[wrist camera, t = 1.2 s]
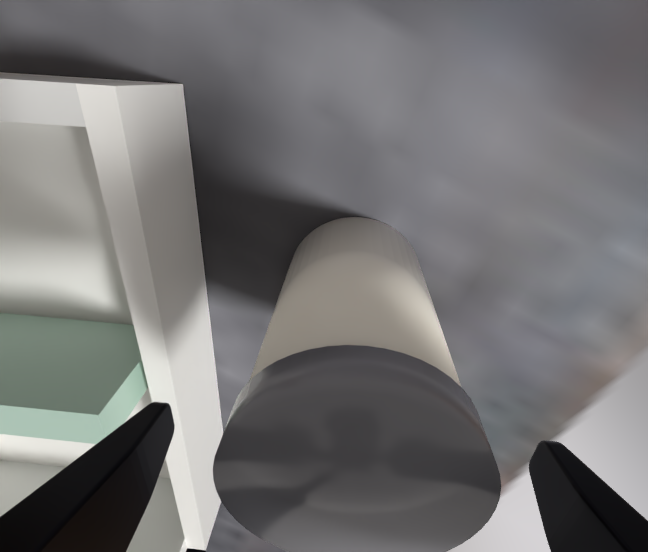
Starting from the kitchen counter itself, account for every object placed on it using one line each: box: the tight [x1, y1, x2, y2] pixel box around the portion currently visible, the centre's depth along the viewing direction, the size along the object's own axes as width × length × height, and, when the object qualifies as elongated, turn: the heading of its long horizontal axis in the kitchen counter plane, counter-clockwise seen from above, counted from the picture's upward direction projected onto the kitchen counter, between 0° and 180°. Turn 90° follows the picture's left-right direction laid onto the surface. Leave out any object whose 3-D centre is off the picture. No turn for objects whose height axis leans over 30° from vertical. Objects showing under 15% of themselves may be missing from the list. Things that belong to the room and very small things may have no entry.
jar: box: [213, 217, 501, 552], centre depth 12 cm, size 6×6×9 cm
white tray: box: [0, 72, 223, 552], centre depth 15 cm, size 22×15×6 cm
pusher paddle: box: [0, 313, 148, 444], centre depth 15 cm, size 3×12×5 cm, turn 87°
